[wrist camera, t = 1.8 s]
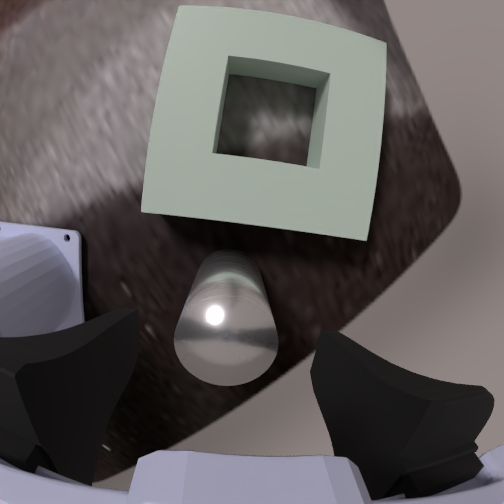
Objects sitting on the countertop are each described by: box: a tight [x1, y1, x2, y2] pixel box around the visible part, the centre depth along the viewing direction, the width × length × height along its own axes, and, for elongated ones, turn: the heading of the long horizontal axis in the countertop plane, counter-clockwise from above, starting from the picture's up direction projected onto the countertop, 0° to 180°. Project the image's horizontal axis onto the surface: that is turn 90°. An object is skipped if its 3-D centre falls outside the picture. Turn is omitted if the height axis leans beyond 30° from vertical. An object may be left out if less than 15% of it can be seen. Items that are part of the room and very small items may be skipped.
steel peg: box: [174, 249, 278, 386], centre depth 15 cm, size 4×4×8 cm
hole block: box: [141, 6, 386, 241], centre depth 15 cm, size 12×12×3 cm
